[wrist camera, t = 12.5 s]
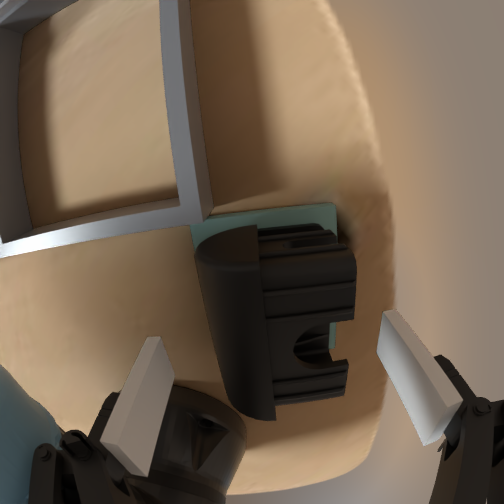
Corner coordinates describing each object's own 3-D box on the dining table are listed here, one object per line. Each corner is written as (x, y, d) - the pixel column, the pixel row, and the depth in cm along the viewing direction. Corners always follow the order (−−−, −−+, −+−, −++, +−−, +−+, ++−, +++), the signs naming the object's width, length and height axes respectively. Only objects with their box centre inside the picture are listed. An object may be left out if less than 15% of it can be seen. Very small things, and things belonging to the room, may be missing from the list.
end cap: (206, 226, 17) (179, 271, 10) (322, 213, 17) (362, 252, 10) (230, 354, 20) (223, 425, 14) (323, 344, 20) (344, 412, 14)
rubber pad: (331, 340, 21) (334, 348, 20) (220, 352, 21) (219, 360, 20) (331, 202, 17) (335, 205, 16) (192, 218, 18) (188, 222, 17)
